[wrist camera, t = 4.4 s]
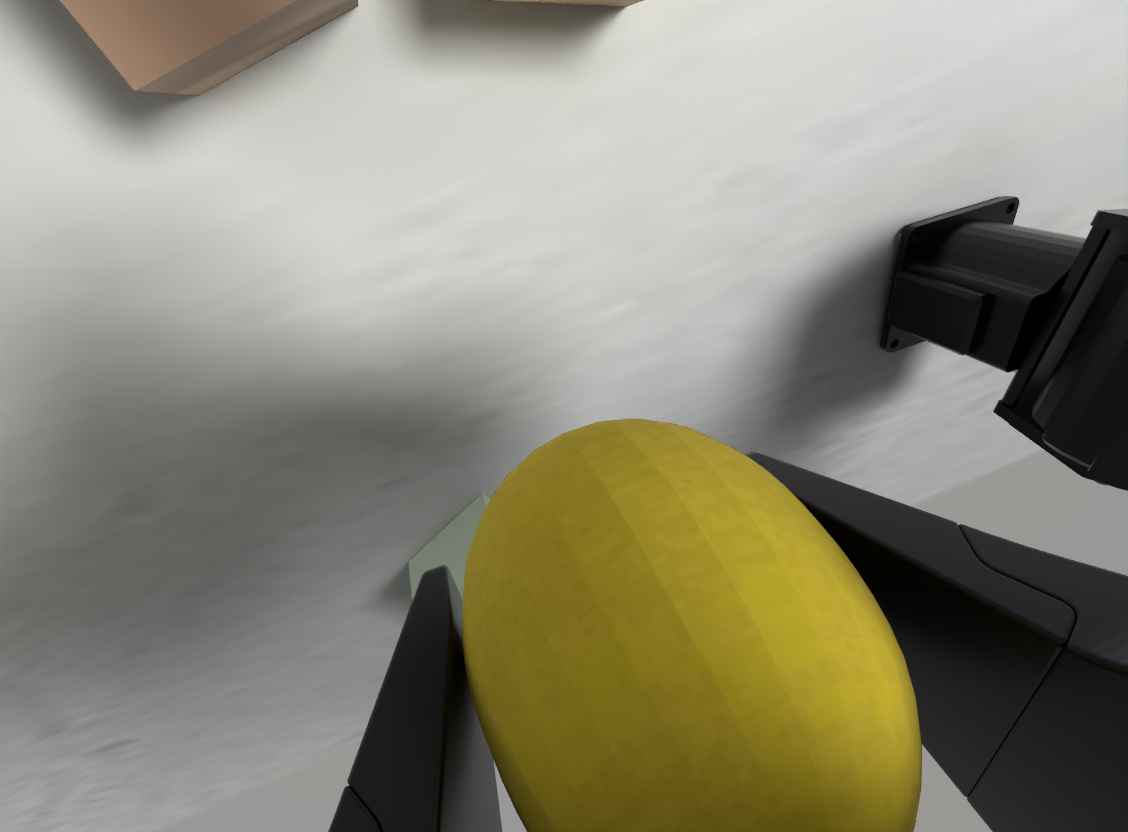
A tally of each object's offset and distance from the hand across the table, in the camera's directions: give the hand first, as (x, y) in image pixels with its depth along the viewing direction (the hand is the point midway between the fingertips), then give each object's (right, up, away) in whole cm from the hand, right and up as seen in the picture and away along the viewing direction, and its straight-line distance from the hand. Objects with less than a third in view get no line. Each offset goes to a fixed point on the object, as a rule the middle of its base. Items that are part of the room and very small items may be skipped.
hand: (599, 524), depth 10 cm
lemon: (-1, +1, +2) cm, 2 cm away
